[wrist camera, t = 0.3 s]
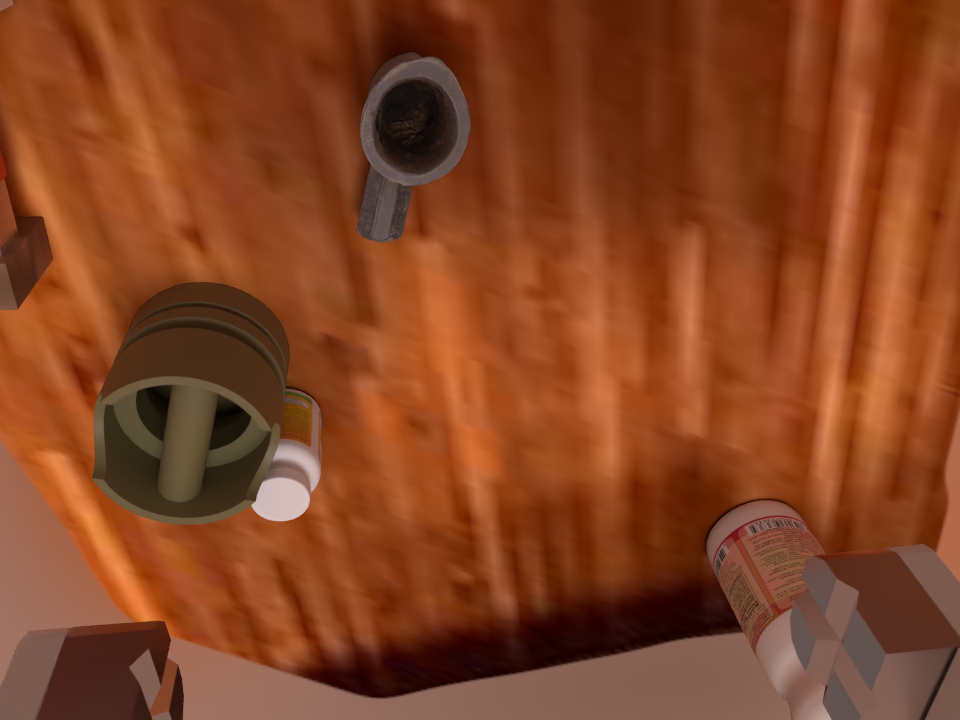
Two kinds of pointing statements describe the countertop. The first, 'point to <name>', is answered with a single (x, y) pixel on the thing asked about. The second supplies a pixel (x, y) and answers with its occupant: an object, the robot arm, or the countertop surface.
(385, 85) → the pipe
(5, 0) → the collar
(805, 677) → the fruit juice
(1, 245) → the steel rail
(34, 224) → the posts
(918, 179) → the countertop surface
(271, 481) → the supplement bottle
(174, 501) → the piston
